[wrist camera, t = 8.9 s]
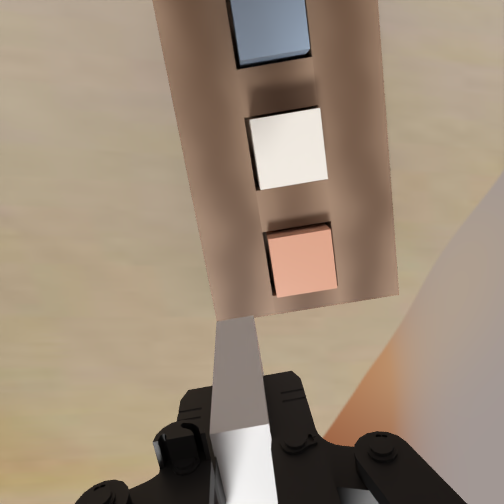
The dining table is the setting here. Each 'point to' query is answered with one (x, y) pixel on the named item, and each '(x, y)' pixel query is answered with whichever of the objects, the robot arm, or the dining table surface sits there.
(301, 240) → the terracotta key
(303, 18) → the slate blue key
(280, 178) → the white key
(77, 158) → the dining table surface
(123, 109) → the dining table surface
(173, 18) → the key panel
